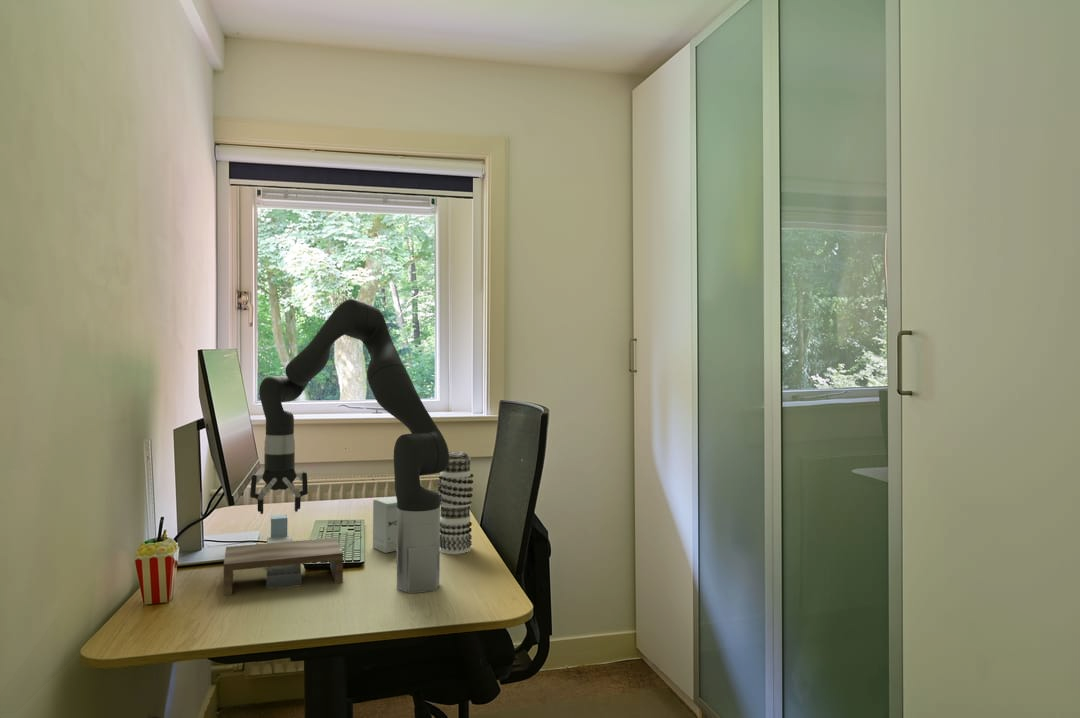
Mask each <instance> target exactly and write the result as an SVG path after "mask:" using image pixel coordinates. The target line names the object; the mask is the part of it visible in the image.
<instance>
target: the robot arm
mask: <svg viewBox="0 0 1080 718" xmlns="http://www.w3.org/2000/svg"><path fill="white" fill-rule="evenodd" d="M344 336H347V337H350V338H353V339H356V340H360V342H362V343H363V344H364V347H365V348H366V350H367V351H368V354H369V356H370V359H369V360H370V361H369V363H368V366H367V371H366V379H367V383H368V385H369V387H370V390H371V391H372V395H373V396H374V398H375V401H377V404H378V405H379V406H380V407H381V408H382V409H384V410H385V411H386V412H387V413H388V414H389V415H391V416H392V417H394V418H395V419H396V420H398V421H400V423H402V424H403V425H404V426H405V427H406V428H407V429H408V430H409V431H410V433H403V434H401V435H400V436H399V437H398V438H397V439H396V441H395V443H394V449H393V470H394V473H393V474H394V494H395V497H396V498H397V551H396V588H397V589H398V590H400V591H403V592H406V593H407V594H414V593H424V592H431V591H437V590H438V588H439V587H440V576H441V575H440V571H441V570H440V569H441V568H440V567H441V566H440V560H441V559H440V558H441V556H440V555H441V552H440V534H441V533H440V528H441V527H440V515H441V506H440V495H439V494H440V493H439V492H437V491H435V490H432V489H428V488H424V487H423V486H422V485H421V479H420V477H421V476H429V475H437V474H440V472H442V471H444V470H445V469H446V468H447V466H448V463H449V452H450V451H449V447H448V443H447V442H446V439H445V438H444V436H443V434H442V432H441V431H440V429H439V427H438V426H437V424H436V423H435V421H434V420H433V418H432V417H431V415H430V413H429V412H428V410H427V409H426V407H425V405H424V404H423V402H422V399H421V397H420V396H419V393H418V391H417V390H416V388H415V386H414V383H413V380H412V379H411V377H410V375H409V372H408V370H407V368H406V367H405V365H404V363H403V361H402V359H401V357H400V355H399V353H398V351H397V348H396V346H395V344H394V341H393V339H392V336H391V334H390V331H389V328H388V325H387V321H386V319H385V317H384V314H383V313H382V311H381V310H380V309H379V308H378V307H377V306H375V305H372V304H369V303H367V302H364V301H361V300H359V299H356V298H347V299H345V300H342V301H341V303H340V304H339V305H337V306H336V308H335V309H334V310H333V312H332V313H331V314H330V316H329V317H328V318H327V319H326V321H325V322H324V323H323V325H321V327H320V329H319V330H318V331H317V333H316V334H315V335H314V336H313V338H312V340H311V341H310V342H309V343H308V344H307V345H306V346H305V347H304V348H303V349H302V350H301V351H300V352H299V353H298V354H297V355H296V356H294V357H293V358H292V359H291V360H290V361H289V362H288V364H287V365H286V366H285V371H284V373H285V375H270V376H267V377H265V378H264V379H262V381H261V383H260V386H259V389H258V395H259V399H260V403H261V406H262V410H263V411H262V412H263V414H264V417H265V438H264V439H265V440H264V450H263V451H264V455H263V456H264V459H263V460H264V466H263V467H264V470H263V474H256V473H252V474H251V479H250V480H251V482H250V494H249V496H250V498H252V499H255V500H257V512H259V513H260V515H264V497H265V496H267V493H269V492H270V490H272V491H278V490H283V491H286V490H287V489H289V490H290V491H291V492H292V494H293V495H294V513H297V512H298V510H300V509H301V499H302V497H303V496H306V495H308V494H309V490H308V489H309V488H308V474H307V472H306V471H302V472H296V470H295V469H296V468H295V465H296V463H295V462H296V460H295V459H296V458H295V457H296V456H295V455H296V454H295V453H296V443H295V440H296V439H295V434H294V433H295V432H294V431H295V417H294V414H293V413H292V412H291V411H286V410H285V409H284V407H283V405H282V403H289V402H292V401H295V400H296V399H298V398H299V397H300V396H302V395H301V394H302V393H303V392H304V391H305V389H306V387H307V386H308V384H309V382H310V381H311V380H313V379H314V378H315V377H316V376H317V375H318V374H319V373H321V372H322V371H323V370H324V368H325V367H326V365H327V364H328V362H329V358H330V354H331V348H332V346H333V344H334V343H335V342H336V341H338V339H340V338H341V337H344ZM297 478H298V480H299V481H301V487H302V490H299V489H298V488H297V487H296V485H295V484H294V481H296V479H297ZM261 479H262V480H263V482H265V485H264V487H262V489H261V491H260V492H259V493H258V492H256V491H257V490H256V489H257V484H258V483H260V481H261ZM298 513H299V512H298Z"/></svg>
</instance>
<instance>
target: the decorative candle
mask: <svg viewBox="0 0 1080 718" xmlns="http://www.w3.org/2000/svg"><path fill="white" fill-rule="evenodd" d="M471 459H472V458H471V457H469V456H468V453H467V452H464V451H449V463H448V466H447V468H446V469H445V470H444V471H442V472H440V473H439V476H438V479H439V480H437V486H438V487H437V491H438V494H439V495H440V554H447V555H461V553H462V554H465V552H467V553H469V552H471V551H472V534H471V533H472V529H473V528H472V527H471V526H473V523H472V522H471V512H470V511H471V510H470V509H471V507H470V506H472V503H473V502H472V501H471V500H470V498H472V497H473V494H472V493H471V492H473V490H474V488H472V486H470V485H472V484H473V483H474V480H473V479H472V478H473V477H474V474H473V473H471V472H472V470H471ZM470 478H471V479H470ZM470 550H471V551H470ZM468 551H469V552H468Z"/></svg>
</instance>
